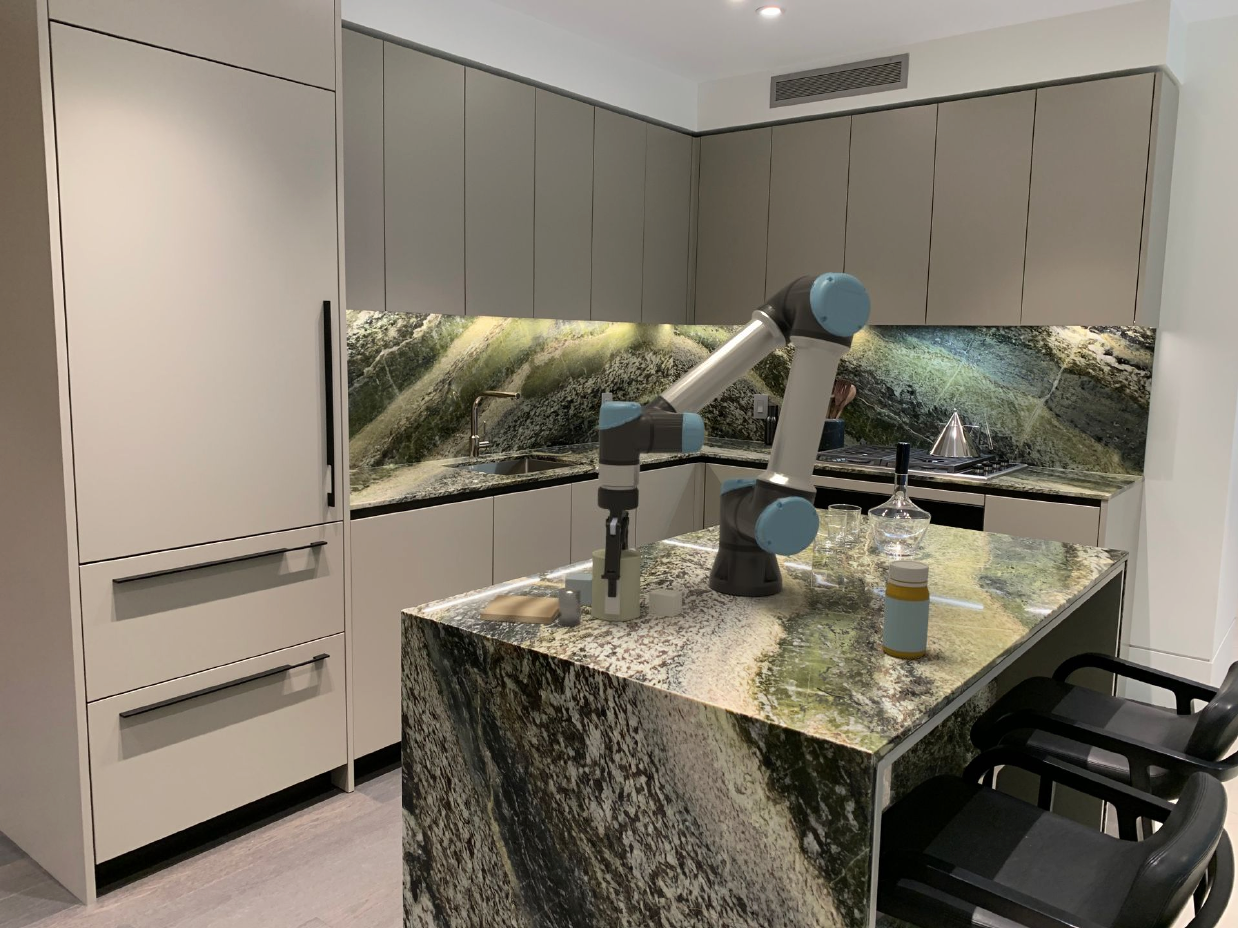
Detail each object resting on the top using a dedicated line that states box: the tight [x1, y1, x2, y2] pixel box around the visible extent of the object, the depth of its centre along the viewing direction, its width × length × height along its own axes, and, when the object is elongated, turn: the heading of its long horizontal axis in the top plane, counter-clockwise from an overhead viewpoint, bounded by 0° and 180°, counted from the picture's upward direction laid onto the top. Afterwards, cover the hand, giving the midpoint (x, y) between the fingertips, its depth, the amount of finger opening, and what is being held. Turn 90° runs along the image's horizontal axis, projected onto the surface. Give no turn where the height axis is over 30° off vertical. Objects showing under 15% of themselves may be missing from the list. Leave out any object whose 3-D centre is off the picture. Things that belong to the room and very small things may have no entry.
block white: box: [648, 587, 683, 618], centre depth 180 cm, size 5×4×4 cm
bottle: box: [881, 559, 930, 660], centre depth 159 cm, size 7×7×15 cm
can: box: [590, 548, 642, 622], centre depth 178 cm, size 9×9×12 cm
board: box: [479, 594, 558, 625], centre depth 179 cm, size 13×13×1 cm
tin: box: [557, 587, 582, 627], centre depth 172 cm, size 4×4×6 cm
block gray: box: [564, 572, 592, 606], centre depth 187 cm, size 5×5×5 cm
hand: (615, 606), depth 179 cm, fingers closed on can, 9 cm apart
